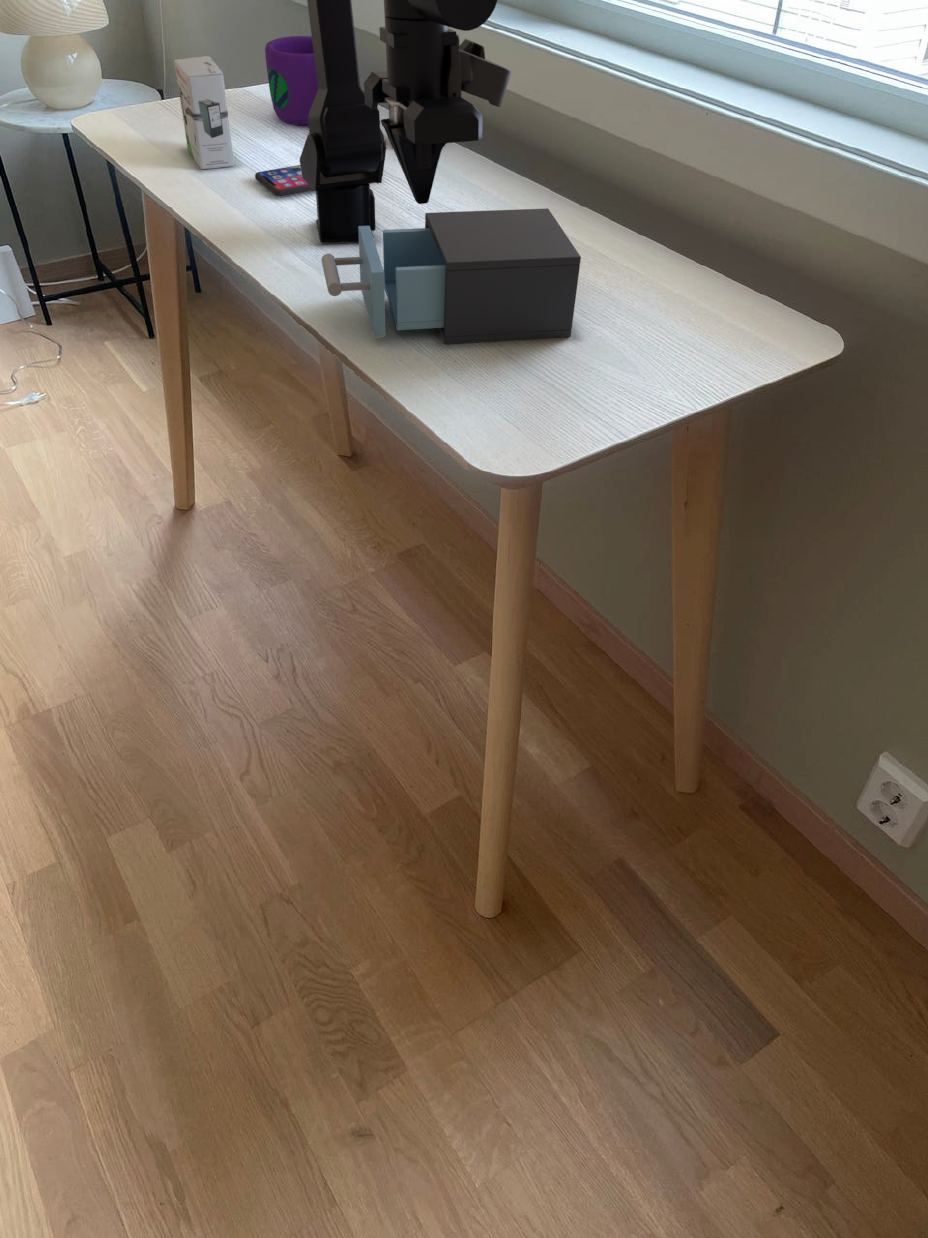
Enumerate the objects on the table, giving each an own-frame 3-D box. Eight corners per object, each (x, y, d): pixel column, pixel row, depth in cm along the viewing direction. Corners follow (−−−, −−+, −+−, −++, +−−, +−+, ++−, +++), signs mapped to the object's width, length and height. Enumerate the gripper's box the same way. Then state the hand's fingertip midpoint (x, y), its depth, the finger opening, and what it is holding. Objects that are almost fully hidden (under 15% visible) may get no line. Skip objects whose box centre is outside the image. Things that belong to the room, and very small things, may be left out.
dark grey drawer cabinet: (444, 344, 95) (446, 262, 89) (424, 290, 104) (425, 212, 98) (570, 336, 98) (581, 256, 92) (540, 284, 106) (548, 207, 100)
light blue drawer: (332, 340, 93) (328, 274, 88) (322, 289, 101) (318, 227, 96) (493, 330, 96) (497, 266, 91) (471, 282, 104) (474, 221, 99)
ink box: (186, 149, 133) (171, 56, 125) (220, 146, 135) (208, 54, 126) (200, 170, 128) (186, 74, 119) (236, 166, 129) (224, 71, 121)
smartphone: (377, 173, 127) (276, 191, 121) (377, 180, 128) (277, 198, 121) (351, 155, 131) (252, 171, 125) (351, 162, 132) (253, 179, 126)
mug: (257, 113, 146) (249, 41, 139) (315, 101, 152) (311, 31, 145) (322, 144, 137) (318, 68, 130) (382, 130, 143) (381, 56, 136)
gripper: (542, 25, 77) (533, 221, 87) (468, -1, 90) (468, 172, 100) (413, 32, 74) (419, 234, 84) (357, 4, 88) (368, 181, 97)
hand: (422, 202), depth 91 cm, fingers closed
